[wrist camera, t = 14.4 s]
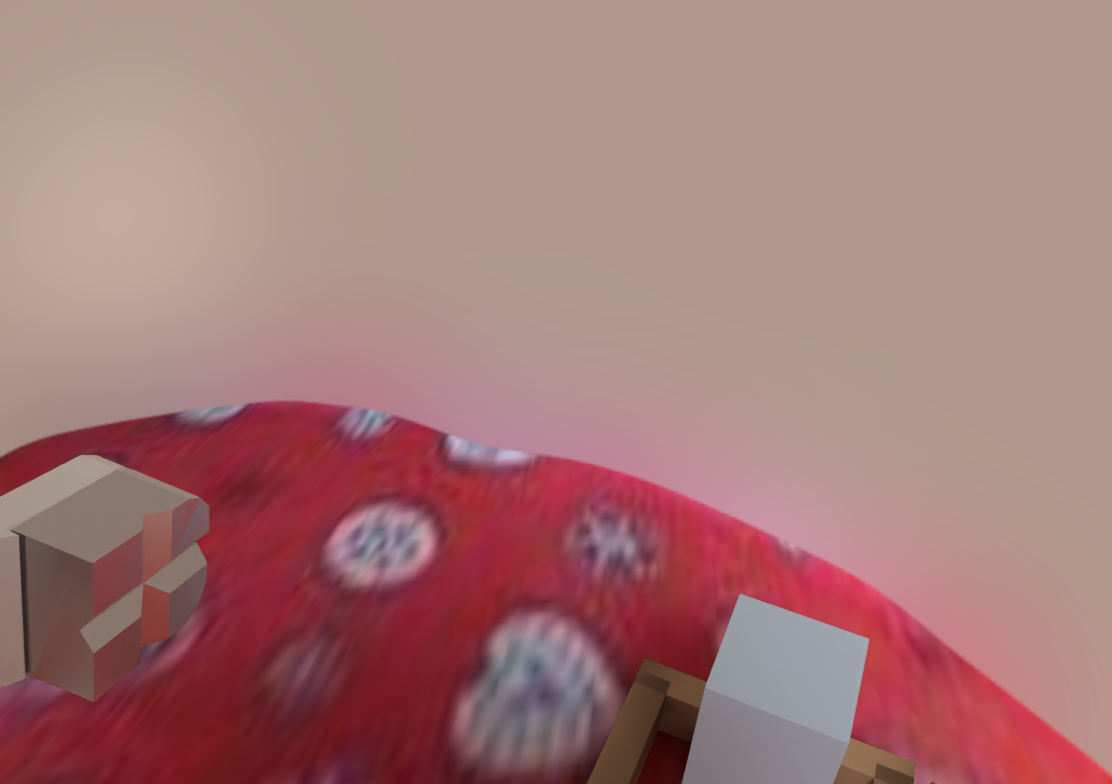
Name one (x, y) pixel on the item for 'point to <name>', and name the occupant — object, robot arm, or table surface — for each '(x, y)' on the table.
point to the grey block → (777, 700)
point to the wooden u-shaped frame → (672, 707)
